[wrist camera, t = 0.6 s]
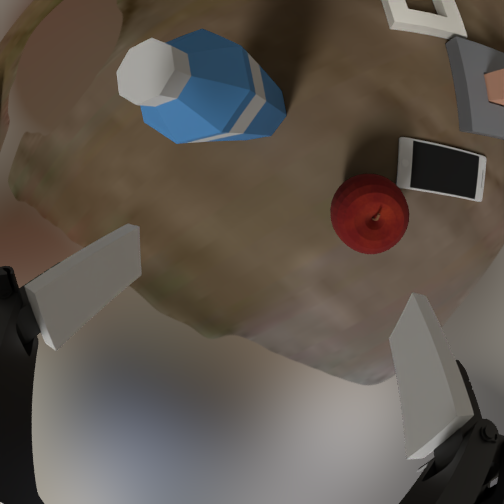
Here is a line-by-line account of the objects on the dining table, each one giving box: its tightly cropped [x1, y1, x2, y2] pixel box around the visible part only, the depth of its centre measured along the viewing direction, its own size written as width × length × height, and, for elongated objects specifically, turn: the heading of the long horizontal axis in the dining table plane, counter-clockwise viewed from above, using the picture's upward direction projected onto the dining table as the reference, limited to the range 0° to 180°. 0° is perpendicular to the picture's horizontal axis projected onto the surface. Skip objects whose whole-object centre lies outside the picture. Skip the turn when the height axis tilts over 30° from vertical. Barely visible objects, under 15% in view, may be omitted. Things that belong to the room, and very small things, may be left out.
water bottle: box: [117, 29, 287, 144], centre depth 22 cm, size 9×9×25 cm
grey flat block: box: [446, 37, 504, 140], centre depth 21 cm, size 14×12×4 cm
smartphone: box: [396, 137, 486, 202], centre depth 30 cm, size 7×16×1 cm, turn 91°
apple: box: [331, 174, 409, 254], centre depth 31 cm, size 10×10×10 cm
